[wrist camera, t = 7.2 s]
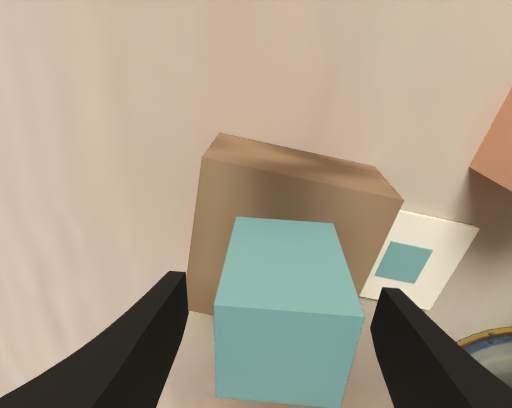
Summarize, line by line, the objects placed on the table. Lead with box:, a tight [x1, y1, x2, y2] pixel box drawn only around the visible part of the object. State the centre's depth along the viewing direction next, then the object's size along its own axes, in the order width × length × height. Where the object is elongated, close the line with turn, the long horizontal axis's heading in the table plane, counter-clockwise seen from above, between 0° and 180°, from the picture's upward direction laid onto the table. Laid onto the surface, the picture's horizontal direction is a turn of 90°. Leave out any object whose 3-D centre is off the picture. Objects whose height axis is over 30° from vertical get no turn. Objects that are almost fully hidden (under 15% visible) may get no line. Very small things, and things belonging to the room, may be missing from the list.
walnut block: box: [186, 133, 404, 315], centre depth 15 cm, size 8×8×4 cm
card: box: [360, 210, 480, 310], centre depth 18 cm, size 6×6×1 cm
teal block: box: [214, 217, 365, 408], centre depth 11 cm, size 4×4×5 cm
